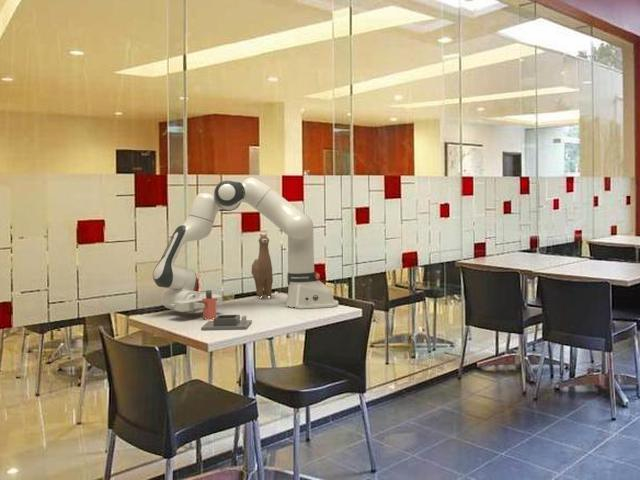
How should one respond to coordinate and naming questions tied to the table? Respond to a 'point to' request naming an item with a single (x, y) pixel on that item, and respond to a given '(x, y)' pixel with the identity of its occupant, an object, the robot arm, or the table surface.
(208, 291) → the plug
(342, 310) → the table surface
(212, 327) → the dock
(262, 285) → the toy
